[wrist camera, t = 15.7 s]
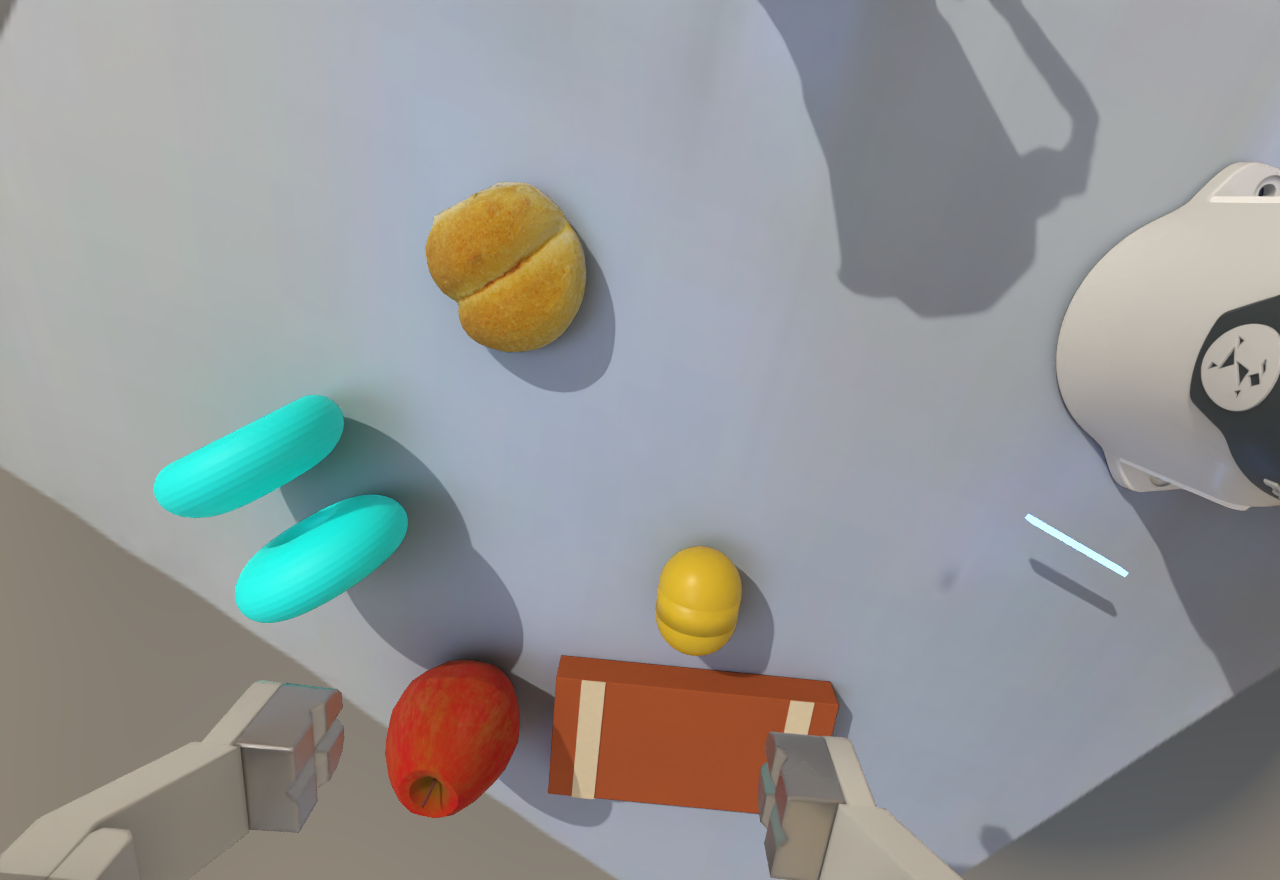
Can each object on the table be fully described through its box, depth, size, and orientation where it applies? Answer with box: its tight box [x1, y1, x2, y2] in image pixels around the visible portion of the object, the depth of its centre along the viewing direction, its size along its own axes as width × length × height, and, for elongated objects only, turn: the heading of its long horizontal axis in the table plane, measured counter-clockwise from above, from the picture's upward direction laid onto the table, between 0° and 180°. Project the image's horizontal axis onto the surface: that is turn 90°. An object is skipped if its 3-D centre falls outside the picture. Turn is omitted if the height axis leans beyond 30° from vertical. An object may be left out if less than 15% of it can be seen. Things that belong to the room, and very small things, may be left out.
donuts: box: [154, 395, 408, 623], centre depth 38 cm, size 10×10×10 cm
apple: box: [385, 660, 520, 818], centre depth 42 cm, size 8×8×11 cm
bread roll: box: [426, 182, 586, 352], centre depth 36 cm, size 8×9×4 cm
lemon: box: [656, 546, 742, 656], centre depth 42 cm, size 7×5×5 cm
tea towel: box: [548, 656, 839, 814], centre depth 47 cm, size 19×10×2 cm, turn 84°
